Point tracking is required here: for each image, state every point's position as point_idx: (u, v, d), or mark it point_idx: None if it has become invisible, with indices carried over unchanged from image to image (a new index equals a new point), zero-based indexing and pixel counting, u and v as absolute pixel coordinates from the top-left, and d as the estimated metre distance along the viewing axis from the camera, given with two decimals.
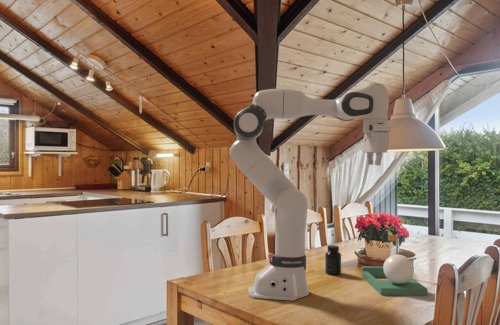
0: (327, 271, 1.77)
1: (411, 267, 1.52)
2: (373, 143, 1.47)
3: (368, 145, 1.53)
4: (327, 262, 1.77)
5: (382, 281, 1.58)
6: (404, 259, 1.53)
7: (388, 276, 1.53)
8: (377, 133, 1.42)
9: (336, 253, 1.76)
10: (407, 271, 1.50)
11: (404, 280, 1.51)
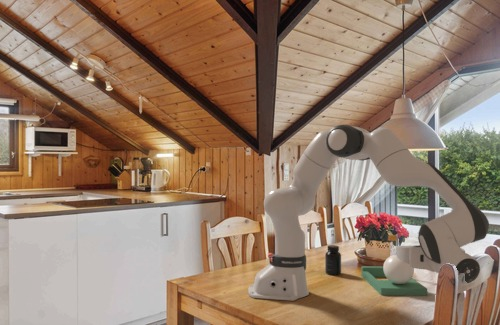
0: (327, 271, 1.77)
1: (411, 267, 1.52)
2: None
3: None
4: (327, 262, 1.77)
5: (382, 281, 1.58)
6: None
7: (388, 276, 1.53)
8: (406, 249, 1.25)
9: (336, 253, 1.76)
10: (407, 271, 1.50)
11: (404, 280, 1.51)
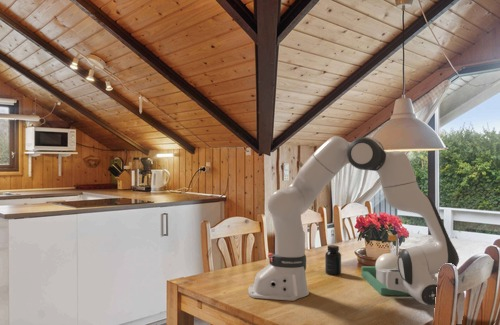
0: (327, 271, 1.77)
1: None
2: None
3: None
4: (327, 262, 1.77)
5: None
6: None
7: (377, 259, 1.70)
8: (384, 273, 1.45)
9: (336, 253, 1.76)
10: None
11: None
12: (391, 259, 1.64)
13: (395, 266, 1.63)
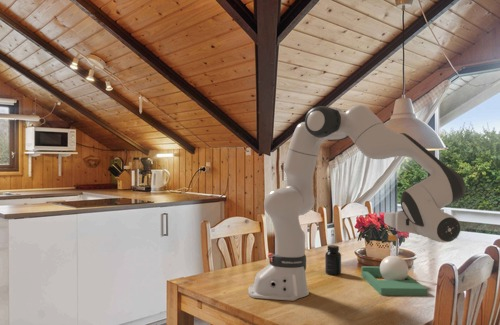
0: (327, 271, 1.77)
1: None
2: None
3: None
4: (327, 262, 1.77)
5: (382, 281, 1.58)
6: None
7: (384, 260, 1.65)
8: (393, 214, 1.31)
9: (336, 253, 1.76)
10: None
11: (398, 257, 1.64)
12: (398, 269, 1.60)
13: (400, 277, 1.60)
